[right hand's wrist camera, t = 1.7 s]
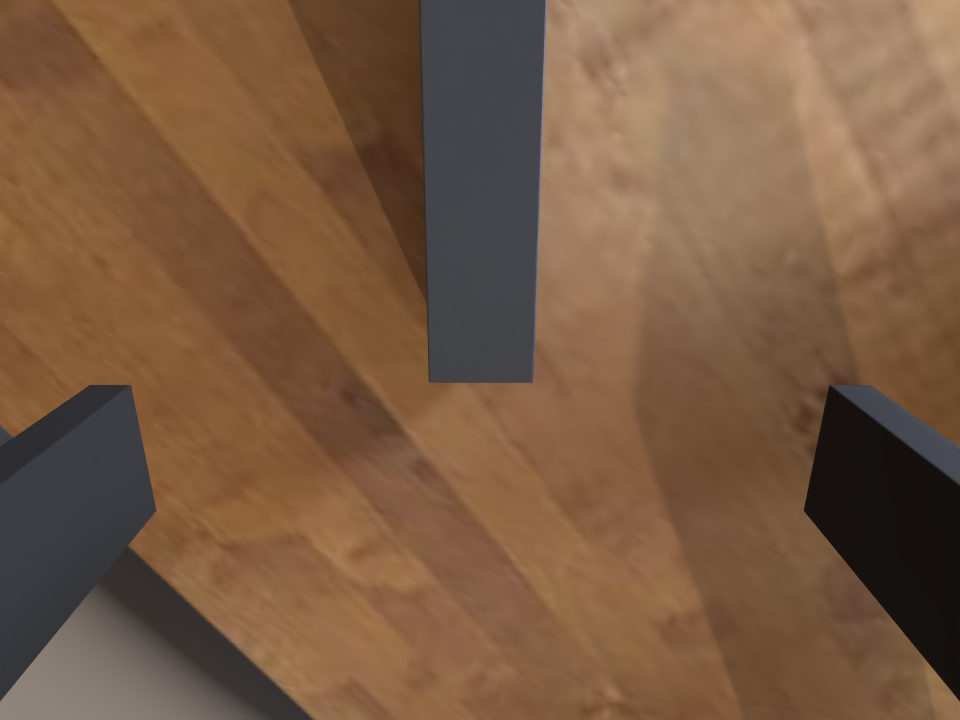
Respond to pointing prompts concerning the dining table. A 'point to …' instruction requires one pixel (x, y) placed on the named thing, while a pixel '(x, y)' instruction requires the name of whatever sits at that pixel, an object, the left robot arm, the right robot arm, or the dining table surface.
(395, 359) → the dining table surface
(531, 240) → the bar
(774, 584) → the dining table surface
